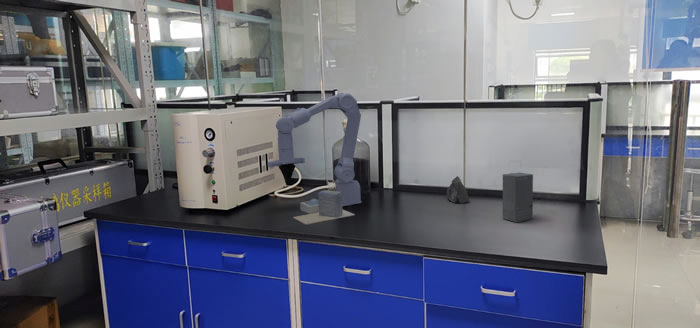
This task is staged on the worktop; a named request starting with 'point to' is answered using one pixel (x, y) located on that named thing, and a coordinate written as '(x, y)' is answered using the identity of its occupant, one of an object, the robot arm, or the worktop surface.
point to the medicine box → (330, 203)
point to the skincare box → (517, 197)
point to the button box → (309, 208)
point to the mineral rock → (457, 191)
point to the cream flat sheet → (319, 217)
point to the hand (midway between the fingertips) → (287, 183)
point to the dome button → (313, 202)
